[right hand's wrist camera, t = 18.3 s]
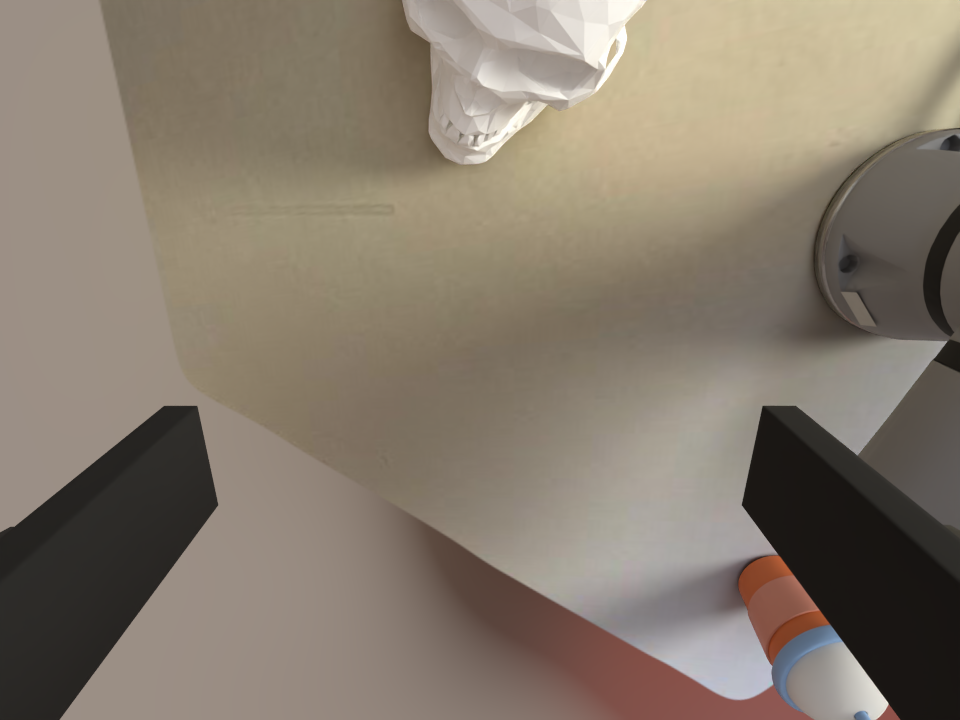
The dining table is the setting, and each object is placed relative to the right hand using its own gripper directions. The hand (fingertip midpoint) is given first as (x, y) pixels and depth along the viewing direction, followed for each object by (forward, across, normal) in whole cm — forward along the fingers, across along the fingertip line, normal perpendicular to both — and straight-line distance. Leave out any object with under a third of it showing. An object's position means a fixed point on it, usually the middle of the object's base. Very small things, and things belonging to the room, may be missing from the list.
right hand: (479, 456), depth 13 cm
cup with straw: (+31, +28, -33) cm, 53 cm away
